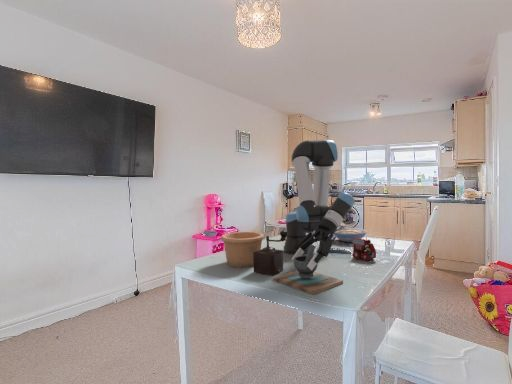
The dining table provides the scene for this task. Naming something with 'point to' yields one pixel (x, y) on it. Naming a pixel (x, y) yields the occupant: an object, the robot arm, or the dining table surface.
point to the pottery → (241, 247)
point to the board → (308, 282)
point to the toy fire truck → (363, 249)
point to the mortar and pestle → (305, 263)
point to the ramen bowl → (349, 233)
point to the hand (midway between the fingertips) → (301, 265)
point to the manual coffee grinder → (269, 258)
